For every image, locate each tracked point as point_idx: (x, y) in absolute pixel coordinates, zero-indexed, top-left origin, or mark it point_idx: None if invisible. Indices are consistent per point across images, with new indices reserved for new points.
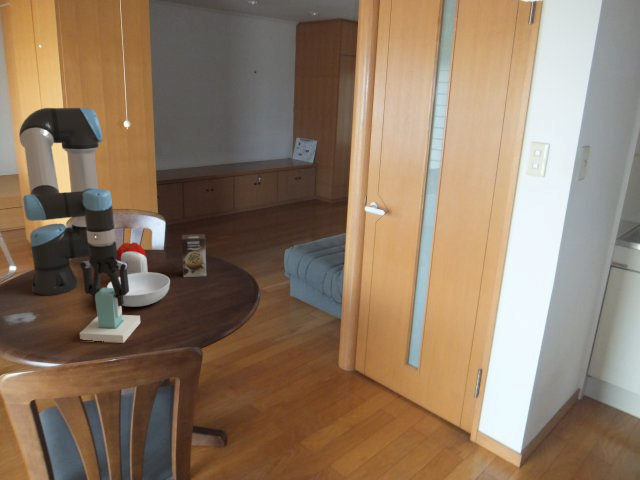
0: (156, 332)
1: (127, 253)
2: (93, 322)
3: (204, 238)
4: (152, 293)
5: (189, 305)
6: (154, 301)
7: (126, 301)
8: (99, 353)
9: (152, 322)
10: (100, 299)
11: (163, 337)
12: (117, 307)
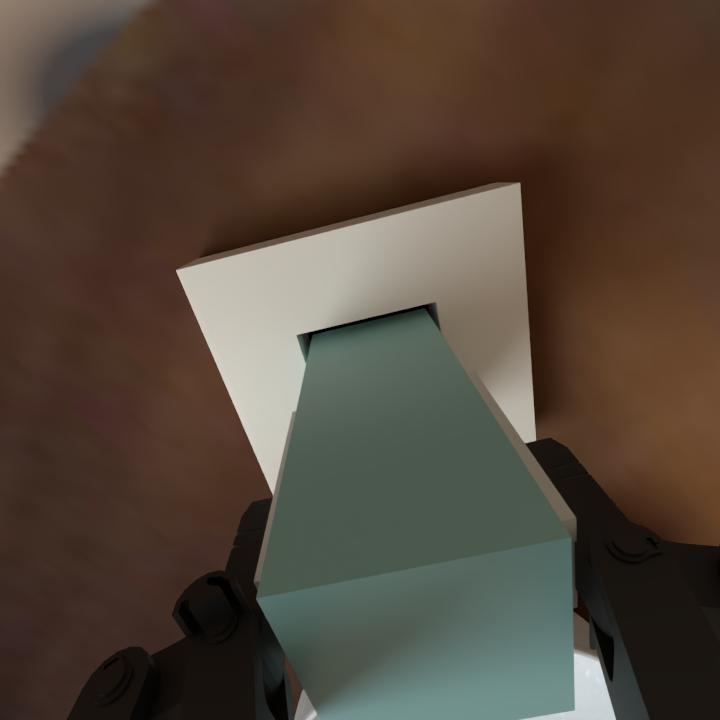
0: (121, 428)
1: None
2: (513, 362)
3: None
4: (310, 705)
5: None
6: None
7: None
8: (240, 56)
9: (231, 504)
10: (451, 482)
11: (33, 395)
12: (279, 473)
